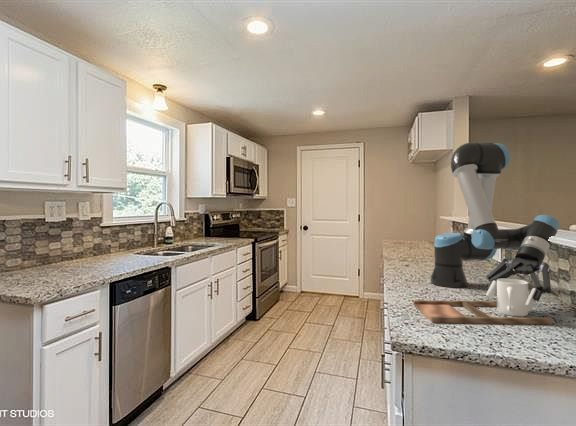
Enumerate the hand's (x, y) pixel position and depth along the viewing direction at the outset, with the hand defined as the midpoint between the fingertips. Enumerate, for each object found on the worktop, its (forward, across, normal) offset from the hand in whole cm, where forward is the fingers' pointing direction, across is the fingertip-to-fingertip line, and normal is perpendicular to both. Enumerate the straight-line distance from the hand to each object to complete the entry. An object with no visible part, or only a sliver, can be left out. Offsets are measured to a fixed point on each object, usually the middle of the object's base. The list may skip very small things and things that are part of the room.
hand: (507, 302), depth 103 cm
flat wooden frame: (+8, -6, -2) cm, 10 cm away
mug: (+1, 0, +5) cm, 5 cm away
